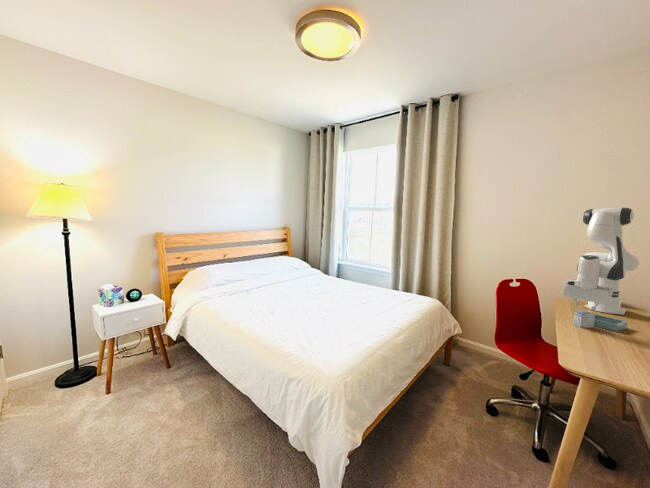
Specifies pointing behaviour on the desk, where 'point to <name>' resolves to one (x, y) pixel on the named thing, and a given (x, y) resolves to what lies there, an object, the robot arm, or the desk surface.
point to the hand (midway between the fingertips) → (584, 307)
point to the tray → (609, 323)
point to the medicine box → (584, 319)
